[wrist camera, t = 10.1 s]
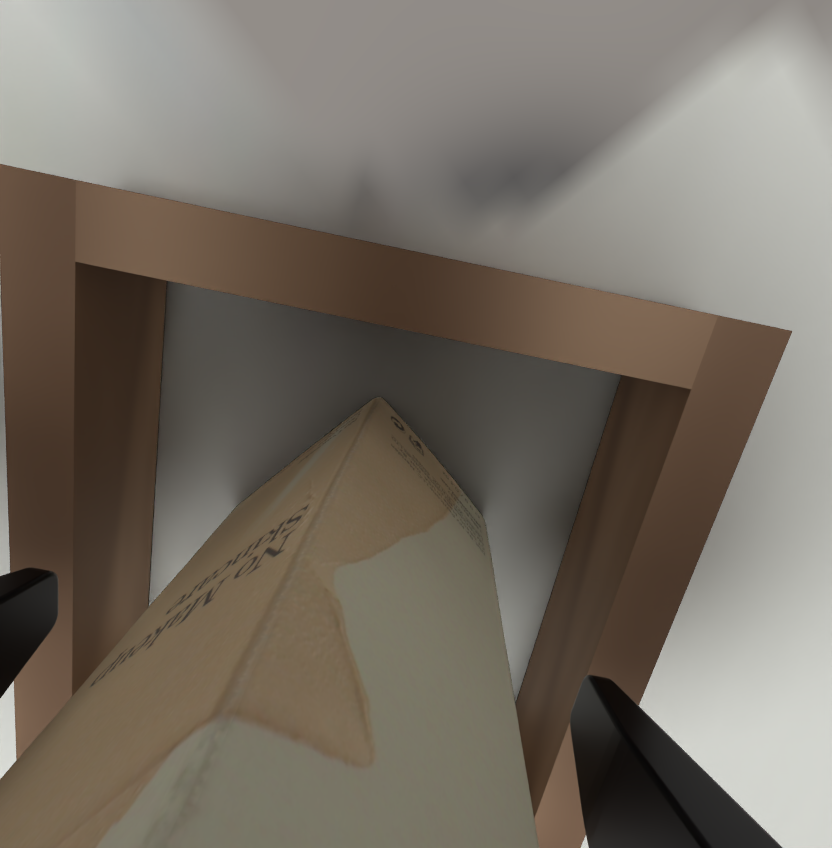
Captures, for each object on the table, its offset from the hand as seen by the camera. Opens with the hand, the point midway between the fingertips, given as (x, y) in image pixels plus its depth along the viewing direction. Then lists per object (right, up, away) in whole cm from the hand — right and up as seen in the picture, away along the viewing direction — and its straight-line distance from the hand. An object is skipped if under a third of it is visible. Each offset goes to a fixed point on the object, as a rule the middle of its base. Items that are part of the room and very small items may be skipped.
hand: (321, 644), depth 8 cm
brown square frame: (0, +1, +4) cm, 4 cm away
